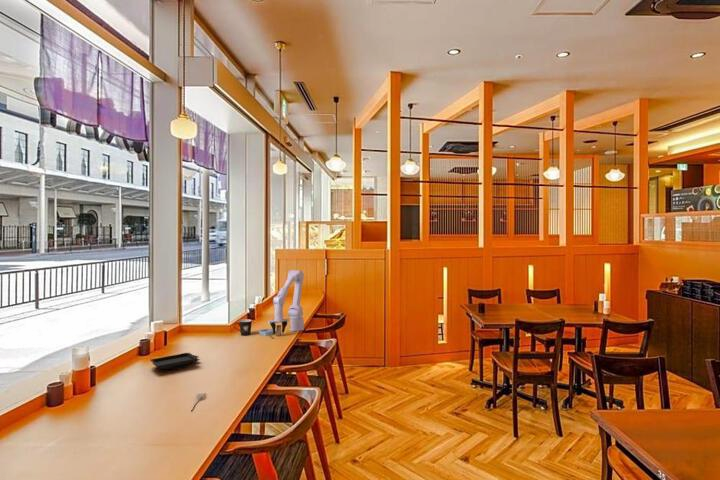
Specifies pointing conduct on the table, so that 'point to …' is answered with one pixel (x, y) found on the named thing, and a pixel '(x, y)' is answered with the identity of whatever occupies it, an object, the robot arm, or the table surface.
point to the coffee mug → (245, 327)
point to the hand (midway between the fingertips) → (278, 332)
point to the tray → (174, 361)
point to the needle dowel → (278, 330)
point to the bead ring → (266, 332)
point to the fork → (199, 396)
